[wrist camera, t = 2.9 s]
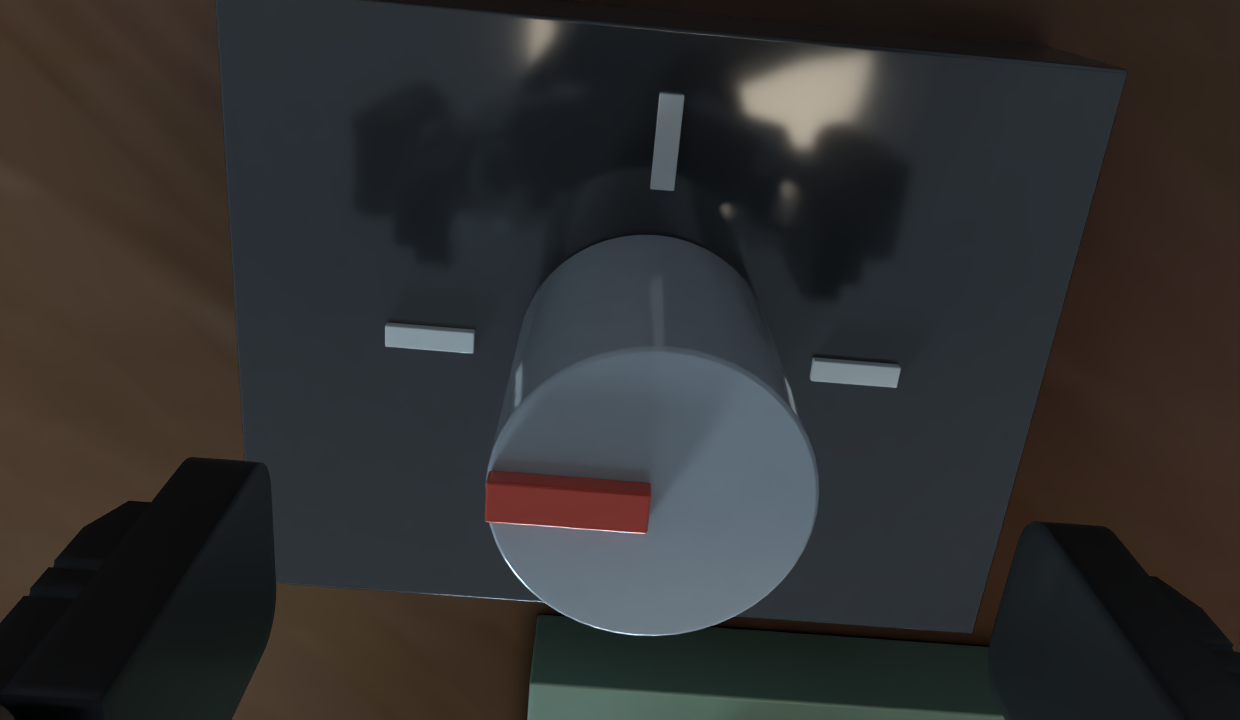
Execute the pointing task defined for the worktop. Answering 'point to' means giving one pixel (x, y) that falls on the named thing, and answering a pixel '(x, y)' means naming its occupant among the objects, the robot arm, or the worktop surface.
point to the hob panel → (646, 205)
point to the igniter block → (751, 676)
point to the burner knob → (649, 443)
